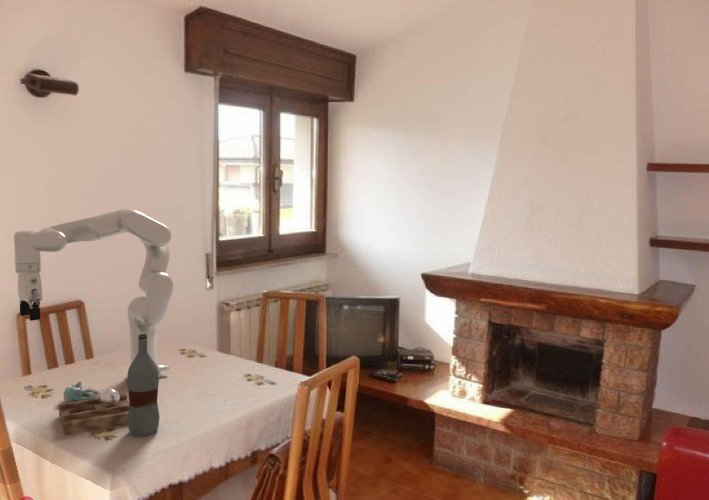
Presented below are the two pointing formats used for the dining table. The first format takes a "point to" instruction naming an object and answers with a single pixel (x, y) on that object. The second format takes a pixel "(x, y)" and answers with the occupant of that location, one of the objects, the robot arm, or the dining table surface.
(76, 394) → the stuffed animal
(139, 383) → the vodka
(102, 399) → the steel ball
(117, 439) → the dining table surface
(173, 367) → the dining table surface
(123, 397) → the wooden box
